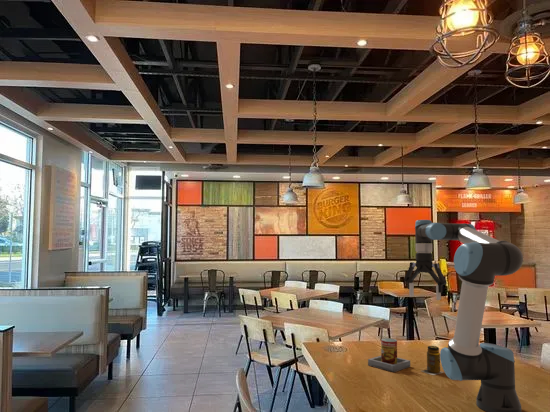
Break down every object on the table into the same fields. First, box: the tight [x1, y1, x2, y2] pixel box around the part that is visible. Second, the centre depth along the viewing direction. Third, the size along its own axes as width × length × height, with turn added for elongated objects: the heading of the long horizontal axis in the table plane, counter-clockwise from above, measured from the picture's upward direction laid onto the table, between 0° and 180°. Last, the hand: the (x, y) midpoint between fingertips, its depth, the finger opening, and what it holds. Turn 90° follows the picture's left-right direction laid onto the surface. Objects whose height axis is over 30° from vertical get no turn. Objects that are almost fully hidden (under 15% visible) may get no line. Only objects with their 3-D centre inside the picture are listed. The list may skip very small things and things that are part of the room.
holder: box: [367, 355, 411, 373], centre depth 211 cm, size 15×15×3 cm
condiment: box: [421, 345, 445, 376], centre depth 203 cm, size 7×8×12 cm
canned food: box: [380, 337, 398, 365], centre depth 212 cm, size 8×8×12 cm
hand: (424, 298), depth 194 cm, fingers open, 13 cm apart
